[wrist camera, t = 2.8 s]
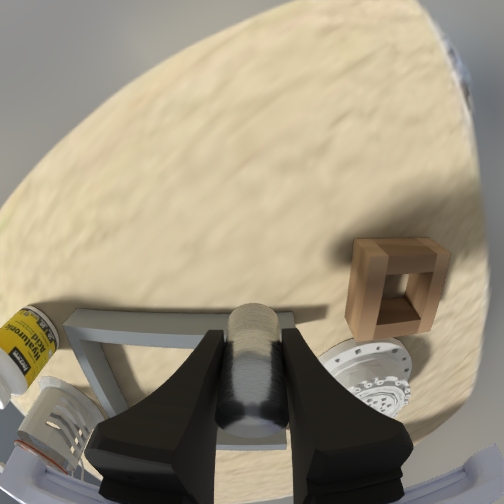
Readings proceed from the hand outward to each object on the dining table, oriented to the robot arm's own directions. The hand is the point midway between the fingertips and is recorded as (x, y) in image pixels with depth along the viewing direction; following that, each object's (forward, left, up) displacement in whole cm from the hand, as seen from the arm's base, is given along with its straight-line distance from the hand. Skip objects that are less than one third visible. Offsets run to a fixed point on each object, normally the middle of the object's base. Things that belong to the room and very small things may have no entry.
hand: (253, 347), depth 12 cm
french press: (-19, +23, -8) cm, 31 cm away
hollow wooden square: (-1, -9, -8) cm, 12 cm away
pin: (0, 0, -2) cm, 2 cm away
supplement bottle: (-6, +21, -8) cm, 23 cm away
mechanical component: (-11, -9, -8) cm, 16 cm away
